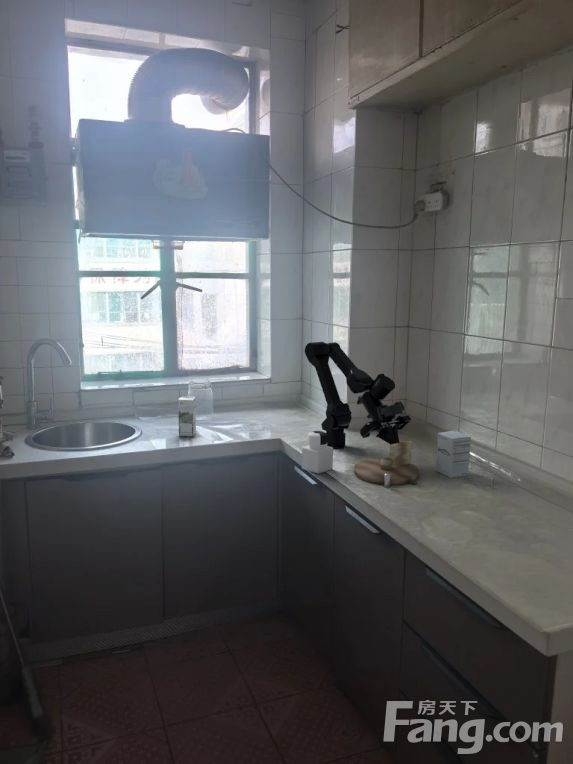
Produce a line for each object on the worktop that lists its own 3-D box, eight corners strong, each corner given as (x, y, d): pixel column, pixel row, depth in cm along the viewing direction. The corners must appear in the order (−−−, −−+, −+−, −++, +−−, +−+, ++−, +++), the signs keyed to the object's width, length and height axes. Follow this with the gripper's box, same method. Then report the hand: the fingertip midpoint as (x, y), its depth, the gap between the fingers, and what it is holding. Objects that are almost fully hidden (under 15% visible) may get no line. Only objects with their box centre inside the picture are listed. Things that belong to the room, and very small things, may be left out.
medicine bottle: (316, 463, 198) (317, 428, 196) (333, 469, 193) (334, 432, 191) (301, 468, 193) (301, 432, 191) (317, 474, 188) (318, 436, 186)
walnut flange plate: (391, 491, 173) (392, 461, 172) (340, 470, 190) (341, 444, 189) (438, 477, 186) (439, 449, 184) (386, 459, 202) (387, 433, 201)
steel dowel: (384, 487, 177) (384, 474, 176) (384, 485, 178) (384, 472, 178) (389, 488, 177) (390, 474, 176) (389, 486, 178) (390, 473, 178)
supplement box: (434, 470, 192) (437, 432, 190) (453, 468, 195) (456, 430, 193) (449, 478, 185) (452, 438, 183) (469, 475, 188) (471, 436, 186)
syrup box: (196, 433, 233) (195, 396, 230) (193, 437, 227) (193, 399, 224) (181, 432, 233) (180, 395, 230) (178, 437, 227) (177, 399, 225)
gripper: (367, 397, 188) (392, 439, 182) (408, 390, 199) (433, 430, 193) (349, 417, 196) (372, 458, 189) (389, 409, 207) (413, 448, 200)
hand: (398, 448), depth 193 cm, fingers closed
